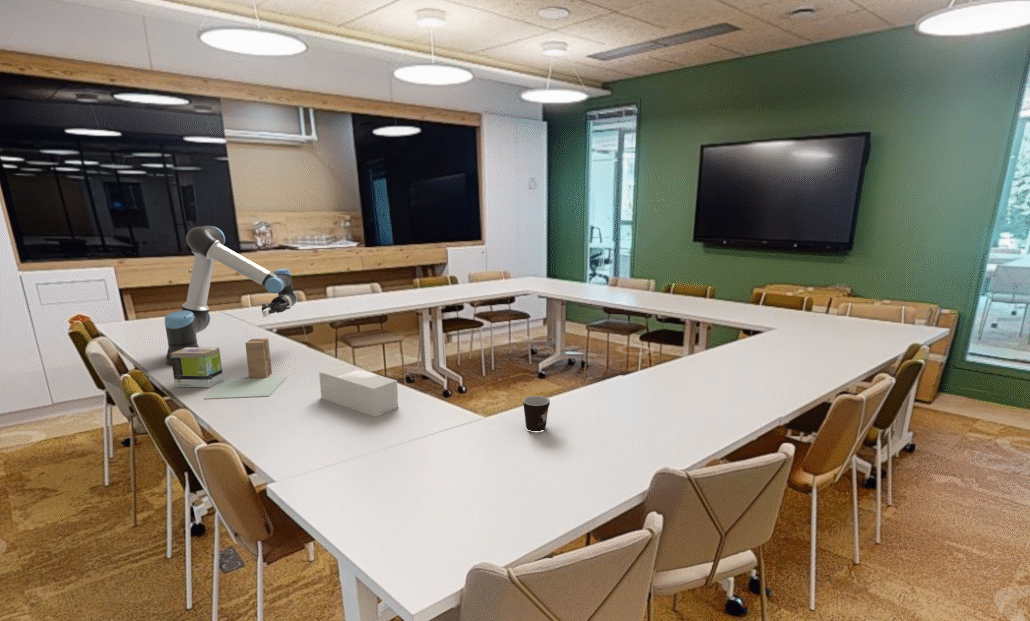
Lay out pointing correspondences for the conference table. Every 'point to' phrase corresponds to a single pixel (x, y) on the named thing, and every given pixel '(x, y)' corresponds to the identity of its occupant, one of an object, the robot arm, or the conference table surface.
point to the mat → (246, 388)
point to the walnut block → (258, 358)
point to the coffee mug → (536, 412)
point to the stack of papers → (359, 390)
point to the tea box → (197, 367)
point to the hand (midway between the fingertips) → (264, 313)
